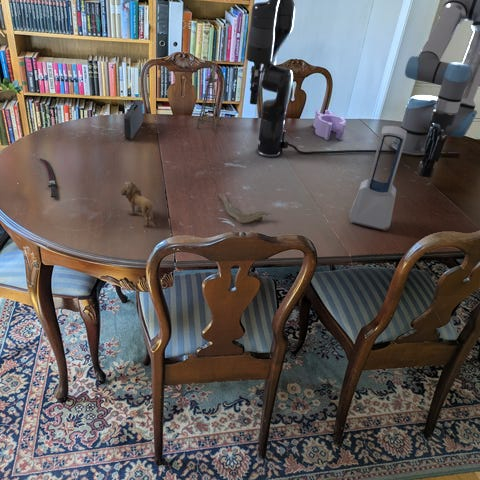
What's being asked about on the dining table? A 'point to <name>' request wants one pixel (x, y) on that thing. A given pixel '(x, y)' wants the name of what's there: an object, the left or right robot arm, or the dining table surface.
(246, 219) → the jawbone
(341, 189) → the dining table surface
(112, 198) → the dining table surface
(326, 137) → the clip
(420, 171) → the block
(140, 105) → the handheld gaming console
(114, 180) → the dining table surface
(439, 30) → the right robot arm
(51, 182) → the sword
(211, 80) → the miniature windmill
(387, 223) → the electronic device
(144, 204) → the lion figurine
